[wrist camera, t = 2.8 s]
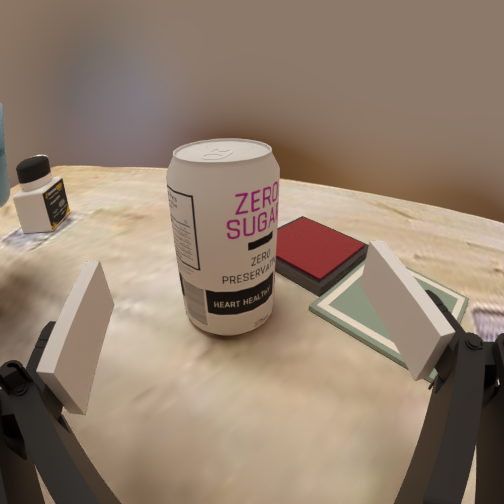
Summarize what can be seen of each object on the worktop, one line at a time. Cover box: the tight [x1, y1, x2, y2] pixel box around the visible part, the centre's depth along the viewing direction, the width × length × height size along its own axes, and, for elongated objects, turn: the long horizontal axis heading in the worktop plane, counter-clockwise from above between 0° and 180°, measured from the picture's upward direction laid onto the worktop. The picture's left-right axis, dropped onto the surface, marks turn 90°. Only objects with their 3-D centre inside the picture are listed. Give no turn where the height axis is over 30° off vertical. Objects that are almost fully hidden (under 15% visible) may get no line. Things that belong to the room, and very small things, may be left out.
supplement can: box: [166, 139, 280, 335], centre depth 25 cm, size 8×8×15 cm
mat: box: [309, 259, 469, 382], centre depth 29 cm, size 14×14×1 cm
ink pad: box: [275, 216, 369, 297], centre depth 37 cm, size 11×11×2 cm
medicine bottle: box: [13, 155, 70, 234], centre depth 42 cm, size 7×7×12 cm
